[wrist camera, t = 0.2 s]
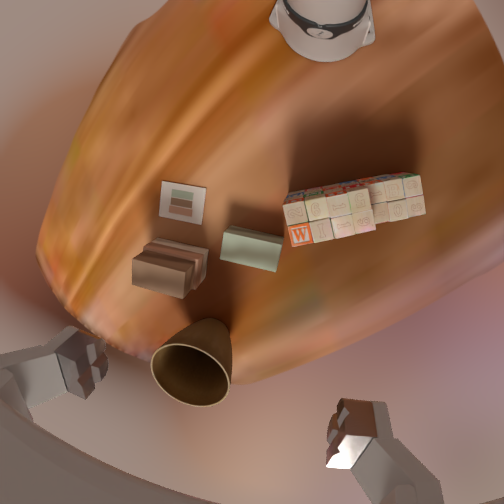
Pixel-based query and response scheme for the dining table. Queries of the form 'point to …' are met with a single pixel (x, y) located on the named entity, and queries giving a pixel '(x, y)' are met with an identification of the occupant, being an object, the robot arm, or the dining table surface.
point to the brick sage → (251, 248)
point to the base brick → (183, 255)
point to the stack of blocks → (352, 207)
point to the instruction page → (182, 202)
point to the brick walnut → (163, 273)
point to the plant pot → (195, 364)
